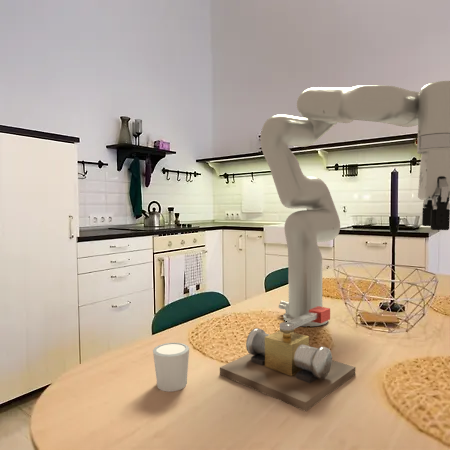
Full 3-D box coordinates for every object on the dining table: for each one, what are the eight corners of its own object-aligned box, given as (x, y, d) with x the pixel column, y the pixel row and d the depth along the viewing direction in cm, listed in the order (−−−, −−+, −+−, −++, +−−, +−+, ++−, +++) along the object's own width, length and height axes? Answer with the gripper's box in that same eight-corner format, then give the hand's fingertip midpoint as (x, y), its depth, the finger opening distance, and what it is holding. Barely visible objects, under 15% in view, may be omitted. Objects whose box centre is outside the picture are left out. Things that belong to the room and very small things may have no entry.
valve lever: (276, 334, 76) (276, 323, 76) (318, 316, 88) (318, 306, 87) (289, 338, 74) (288, 326, 74) (330, 319, 85) (330, 308, 85)
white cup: (195, 378, 76) (194, 344, 75) (180, 395, 69) (179, 357, 69) (164, 374, 78) (163, 340, 77) (147, 390, 71) (145, 353, 71)
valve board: (219, 374, 77) (219, 366, 77) (274, 348, 90) (273, 341, 90) (305, 411, 63) (305, 401, 63) (355, 374, 76) (355, 366, 76)
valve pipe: (245, 360, 80) (245, 325, 80) (263, 351, 84) (263, 318, 84) (315, 386, 69) (315, 345, 68) (332, 374, 73) (332, 336, 72)
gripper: (411, 150, 88) (409, 224, 90) (424, 140, 72) (421, 231, 73) (448, 148, 86) (445, 224, 87) (470, 138, 70) (466, 232, 71)
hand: (434, 227), depth 80 cm, fingers open, 9 cm apart
